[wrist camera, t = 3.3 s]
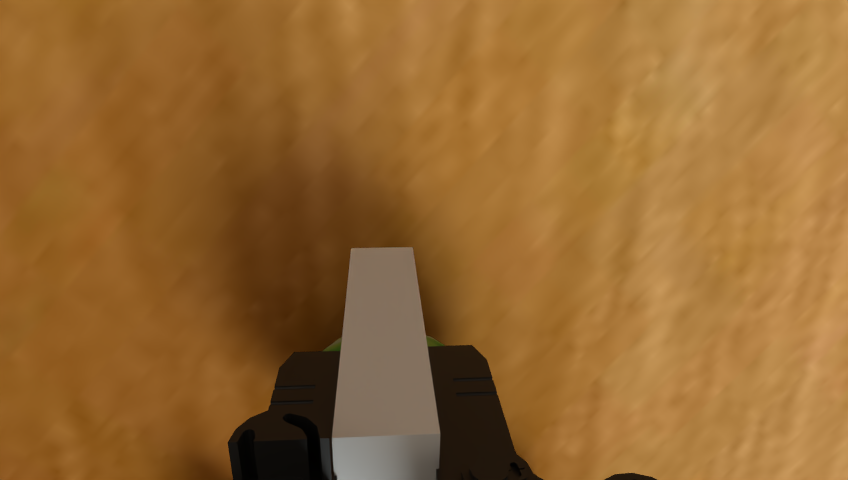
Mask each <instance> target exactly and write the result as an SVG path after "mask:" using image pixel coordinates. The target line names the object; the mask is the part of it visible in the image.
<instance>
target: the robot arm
mask: <svg viewBox="0 0 848 480" xmlns="http://www.w3.org/2000/svg"><path fill="white" fill-rule="evenodd" d="M228 448H229V454H230V461H231V468H232V475H233V480H543V479H541V478H539V477H537V476H536V475H535V474H533V472H532V470H531V469H530V467H529V465H528V464H527V462H526V461H525V460H523V459H522V458H521V457H519V456H518V455H517V454H516V452H515V450H514V446H513V443H512V440H511V437H510V433H509V430H508V427H507V424H506V420H505V417H504V414H503V411H502V407H501V404H500V401H499V398H498V395H497V391H496V388H495V385H494V382H493V380H492V375H491V372H490V369H489V365H488V362H487V359H486V358H485V357H484V356H483V355H481V354H480V353H479V352H478V351H477V350H476V349H475V348H474V347H473V346H472V345H459V346H427V340H426V334H425V327H424V320H423V313H422V307H421V300H420V293H419V286H418V280H417V273H416V266H415V259H414V252H413V247H390V248H351V255H350V264H349V274H348V284H347V294H346V304H345V313H344V323H343V333H342V343H341V351H316V352H294V353H293V354H292V355H291V356H290V357H289V358H288V359H287V360H286V362H285V363H284V364H283V365H282V366H281V367H280V368H279V372H278V375H277V379H276V383H275V390H273V394H272V398H271V405H270V406H269V409H268V411H265V412H263V413H261V414H258V415H256V416H254V417H251V418H249V419H248V420H247V421H246V422H244V423H243V424H242V425H240V426H239V427H238V428H237V429H236V430H235V431H234V433H233V435H232V436H231V438H230V440H229V441H228ZM605 480H657V479H655V478H652V477H649V476H644V475H640V474H635V473H625V474H615V475H613V476H611V477H609V478H607V479H605Z"/></svg>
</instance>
